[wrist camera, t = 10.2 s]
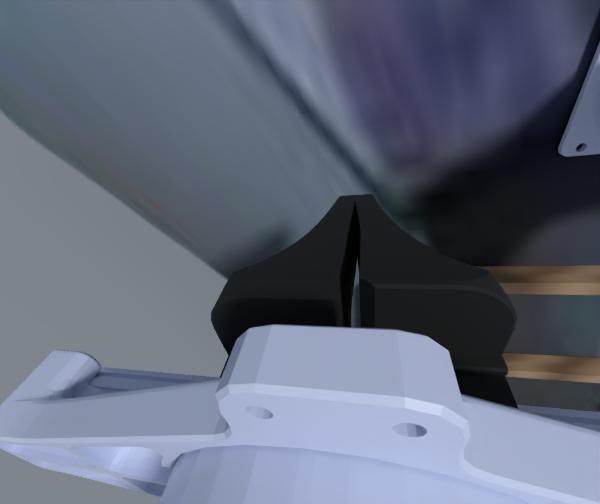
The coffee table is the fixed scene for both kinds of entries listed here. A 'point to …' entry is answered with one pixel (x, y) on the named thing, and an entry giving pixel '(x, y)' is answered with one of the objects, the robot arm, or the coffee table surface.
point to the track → (550, 282)
